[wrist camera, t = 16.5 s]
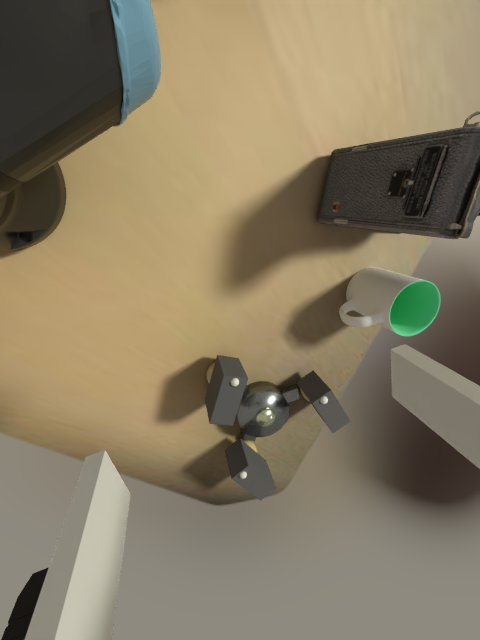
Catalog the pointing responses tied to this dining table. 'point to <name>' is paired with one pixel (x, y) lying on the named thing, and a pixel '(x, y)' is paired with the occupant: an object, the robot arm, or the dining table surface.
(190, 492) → the dining table surface
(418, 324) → the mug
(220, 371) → the grey block with dot
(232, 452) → the knob
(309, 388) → the knob
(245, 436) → the level base
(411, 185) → the camera
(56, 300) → the dining table surface
